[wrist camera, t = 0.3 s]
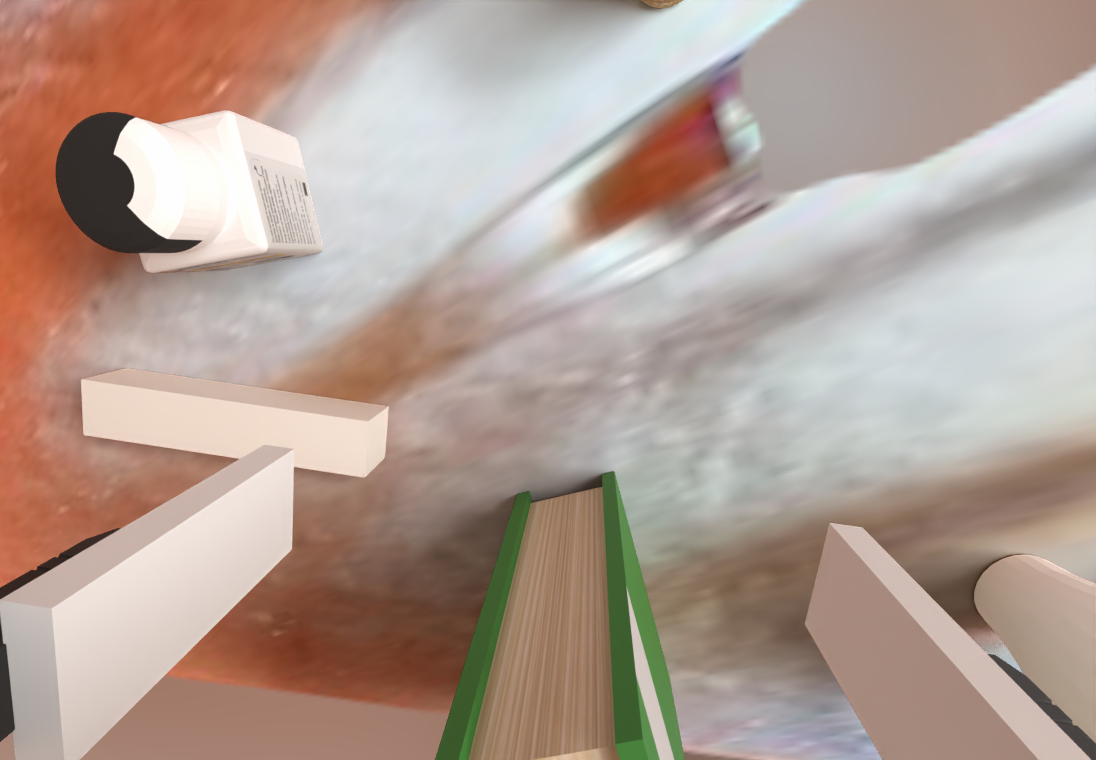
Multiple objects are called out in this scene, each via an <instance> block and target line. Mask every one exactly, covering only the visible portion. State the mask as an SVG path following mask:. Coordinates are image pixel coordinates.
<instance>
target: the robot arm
mask: <svg viewBox="0 0 1096 760" xmlns="http://www.w3.org/2000/svg"><path fill="white" fill-rule="evenodd" d="M293 480H294V449H292V448H285V447H278V446H270V445H263V446H261V447H259V448H258V449H256V450H254V451H253V452H251V453H249V454H247V455H246V456H244V457H242V458H241V459H239V460H237V461H236V462H234V463H232V464H230V465H229V466H227V467H225V468H224V469H222V470H220V471H218V472H217V473H215V474H213V475H212V476H210V477H208V478H207V479H205V480H203V481H201V482H200V483H198V484H196V485H195V486H193V487H191V488H190V489H188V490H186V491H184V492H183V493H181V494H179V495H178V496H176V497H174V498H172V499H171V500H169V501H167V502H166V503H164V504H162V505H161V506H159V507H157V508H155V509H154V510H152V511H150V512H149V513H147V514H145V515H143V516H142V517H140V518H138V519H137V520H135V521H133V522H132V523H130V524H128V525H126V526H125V527H123V528H121V529H120V528H117V529H114V530H111V531H109V532H106V533H103V534H100V535H97V536H94V537H91V538H88V539H85V540H84V541H82V542H80V543H78V544H77V545H75V546H73V547H71V548H70V549H68V550H66V551H64V552H63V553H61V554H59V557H58V558H56V557H54V558H52V559H50V560H48V561H47V562H45V563H43V564H41V565H40V566H38V567H37V570H31V571H29V572H27V573H25V574H24V575H22V576H20V577H18V578H17V579H15V580H13V581H11V582H10V583H8V584H6V585H4V586H3V587H1V588H0V742H1V741H2V740H3V739H4V738H5V737H7V736H8V735H9V734H10V733H11V732H13V740H14V748H15V759H16V760H80V759H81V758H82V756H84V754H86V753H87V752H88V751H89V750H90V749H91V748H92V747H93V746H94V745H95V744H96V743H97V742H98V741H99V740H100V739H101V738H102V737H103V736H104V735H105V734H106V733H107V732H108V731H109V730H110V729H111V728H112V727H113V726H114V725H115V724H116V723H117V722H118V721H119V720H120V719H121V718H122V717H123V716H124V715H125V714H126V713H127V712H128V711H129V710H130V709H131V708H132V707H133V706H134V705H135V704H136V703H137V702H138V701H139V700H140V699H141V698H142V697H143V696H144V695H145V694H146V693H147V692H148V691H149V690H150V689H151V688H152V687H153V686H154V685H155V684H156V683H157V682H158V681H159V680H160V679H161V678H162V677H163V676H165V675H166V674H167V673H168V672H169V671H170V670H171V669H172V668H173V667H174V666H175V665H176V664H177V663H178V662H179V661H180V660H181V659H182V658H183V657H184V656H185V655H186V654H187V653H188V652H189V651H190V650H191V649H192V648H193V647H194V646H195V645H196V644H197V643H198V642H199V641H200V640H201V639H202V638H203V637H204V636H205V635H206V634H207V633H208V632H209V631H210V630H211V629H212V628H213V627H214V626H215V625H216V624H217V623H218V622H219V621H220V620H221V619H222V618H223V617H224V616H225V615H226V614H227V613H228V612H229V611H230V610H231V609H232V608H233V607H234V606H235V605H236V604H237V603H238V602H239V601H240V600H241V599H242V598H243V597H244V596H245V595H246V594H247V593H248V592H249V591H250V590H251V589H252V588H253V587H254V586H255V585H256V584H257V583H258V582H259V581H260V580H261V579H262V578H263V577H264V576H265V575H267V574H268V573H269V572H270V571H271V570H272V569H273V568H274V567H275V566H276V565H277V564H278V563H279V562H280V561H281V560H282V559H283V558H284V557H285V556H286V555H287V554H288V553H289V552H290V551H291V550H292V530H293ZM805 626H806V627H807V629H808V631H809V633H810V634H811V636H812V638H813V639H814V641H815V643H816V645H817V646H818V648H819V650H820V652H821V653H822V655H823V657H824V659H825V660H826V662H827V664H828V666H829V667H830V669H831V671H832V673H833V674H834V676H835V678H836V680H837V681H838V683H839V685H840V686H841V688H842V690H843V692H844V693H845V695H846V697H847V699H848V700H849V702H850V704H851V706H852V707H853V709H854V711H855V713H856V714H857V716H858V718H859V720H860V721H861V723H862V725H863V727H864V728H865V730H866V732H867V733H868V735H869V737H870V739H871V740H872V742H873V744H874V746H875V747H876V749H877V751H878V753H879V754H880V756H881V758H882V760H1096V743H1095V742H1094V741H1093V740H1092V739H1091V738H1090V737H1089V736H1088V735H1087V734H1086V733H1085V732H1084V731H1083V730H1082V729H1081V728H1079V727H1078V726H1076V725H1073V723H1072V720H1071V719H1070V718H1069V717H1068V716H1067V715H1066V714H1065V713H1064V712H1063V711H1062V710H1061V709H1060V708H1059V707H1058V706H1057V705H1052V700H1051V699H1050V698H1049V697H1048V696H1047V695H1046V694H1045V693H1043V692H1042V691H1041V690H1040V689H1039V688H1038V687H1037V686H1036V685H1035V684H1034V683H1033V682H1032V681H1031V680H1030V679H1029V678H1028V677H1027V676H1025V675H1024V674H1022V673H1021V672H1019V671H1018V670H1017V669H1015V668H1014V667H1012V666H1011V665H1009V664H1008V663H1006V662H1005V661H1003V660H1002V659H1000V658H999V657H997V656H996V655H991V654H987V653H986V652H985V651H984V650H983V649H982V648H981V647H980V646H979V645H978V644H977V643H976V642H975V641H974V640H973V639H972V638H971V637H970V636H969V635H968V634H967V633H966V632H965V631H964V630H963V629H962V628H961V627H960V626H959V625H958V624H957V623H956V622H955V621H954V620H953V619H952V618H951V617H950V616H949V615H948V614H947V613H946V612H945V611H944V610H943V609H942V608H941V607H940V606H939V605H938V604H937V603H936V602H935V601H934V600H933V599H932V598H931V597H930V596H929V595H928V594H927V593H926V592H925V591H924V590H923V588H922V587H921V586H920V585H919V584H918V583H917V582H916V581H915V580H914V579H913V578H912V577H911V576H910V575H909V574H908V573H907V572H906V571H905V570H904V569H903V568H902V567H901V566H900V565H899V564H898V563H897V562H896V561H895V560H894V559H893V558H892V557H891V556H890V555H889V554H888V553H887V552H886V551H885V550H884V549H883V548H882V547H881V546H880V545H879V544H878V543H877V542H876V541H875V540H874V539H873V538H872V537H871V536H870V535H869V534H868V533H867V532H866V531H865V530H864V529H863V528H862V527H856V526H849V525H842V524H834V523H829V527H828V531H827V535H826V539H825V543H824V547H823V551H822V555H821V560H820V564H819V568H818V572H817V576H816V580H815V584H814V588H813V592H812V596H811V601H810V605H809V609H808V613H807V617H806V621H805Z"/></svg>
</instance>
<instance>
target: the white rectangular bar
mask: <svg viewBox="0 0 1096 760" xmlns="http://www.w3.org/2000/svg"><path fill="white" fill-rule="evenodd" d="M81 392H82V413H83V433H84V435H87V436H93V437H100V438H107V439H113V440H120V441H126V442H133V443H140V444H146V445H153V446H159V447H166V448H173V449H179V450H186V451H192V452H199V453H205V454H212V455H219V456H225V457H232V458H238V459H241V458H242V457H244V456H246V455H247V454H249V453H251V452H253V451H254V450H256V449H258V448H259V447H261V446H263V445H270V446H278V447H285V448H292V449H294V467H298V468H304V469H311V470H317V471H324V472H331V473H337V474H344V475H350V476H357V477H364V478H365V477H366V476H367V475H368V474H369V473H370V472H371V471H372V470H373V469H374V468H375V467H376V466H377V465H378V464H379V463H380V462H381V461H382V460H383V459H384V458H385V451H386V437H387V423H388V409H389V406H383V405H376V404H369V403H363V402H356V401H349V400H342V399H335V398H328V397H321V396H315V395H308V394H301V393H294V392H287V391H280V390H274V389H267V388H260V387H253V386H246V385H239V384H233V383H226V382H219V381H212V380H205V379H198V378H191V377H185V376H178V375H171V374H164V373H157V372H150V371H144V370H137V369H130V368H125V369H121V370H117V371H113V372H109V373H104V374H100V375H96V376H92V377H88V378H84V379H81Z"/></svg>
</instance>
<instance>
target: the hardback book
mask: <svg viewBox="0 0 1096 760" xmlns="http://www.w3.org/2000/svg"><path fill="white" fill-rule="evenodd" d="M435 760H685V759H684V753H683V748H682V742H681V737H680V732H679V726H678V721H677V715H676V710H675V705H674V699H673V694H672V688H671V683H670V678H669V674H668V670H667V666H666V663H665V659H664V655H663V652H662V648H661V644H660V640H659V637H658V633H657V629H656V625H655V622H654V618H653V614H652V611H651V607H650V603H649V599H648V596H647V592H646V588H645V584H644V581H643V577H642V573H641V570H640V566H639V562H638V558H637V555H636V551H635V547H634V543H633V540H632V536H631V532H630V528H629V525H628V521H627V517H626V514H625V510H624V506H623V502H622V499H621V495H620V491H619V487H618V484H617V480H616V476H615V473H614V471H613V472H609V473H605V474H602V487H599V488H594V489H590V490H586V491H581V492H577V493H573V494H568V495H564V496H559V497H555V498H551V499H546V500H542V501H538V502H532V499H531V496H530V492H529V491H528V492H523V493H519V494H517V496H516V500H515V503H514V506H513V509H512V512H511V516H510V519H509V522H508V525H507V529H506V532H505V535H504V538H503V542H502V545H501V548H500V551H499V554H498V558H497V561H496V564H495V567H494V571H493V574H492V577H491V580H490V584H489V587H488V590H487V593H486V597H485V600H484V603H483V606H482V609H481V613H480V616H479V619H478V622H477V626H476V629H475V632H474V635H473V639H472V642H471V645H470V648H469V651H468V655H467V658H466V661H465V664H464V668H463V671H462V674H461V677H460V681H459V684H458V687H457V690H456V694H455V697H454V700H453V703H452V706H451V710H450V713H449V716H448V719H447V723H446V726H445V730H444V732H443V736H442V739H441V742H440V745H439V749H438V752H437V755H436V758H435Z"/></svg>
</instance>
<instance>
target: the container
mask: <svg viewBox="0 0 1096 760" xmlns="http://www.w3.org/2000/svg"><path fill="white" fill-rule="evenodd" d="M56 183H57V188H58V192H59V195H60V198H61V201H62V203H63V205H64V207H65V209H66V211H67V212H68V214H69V215H70V217H71V219H72V220H73V221H74V223H75V224H76V225H77V226H78V227H79V229H80V230H81V231H82V232H83V233H84V234H85V235H87V236H88V237H89V238H90V239H92V240H93V241H94V242H96V243H98V244H100V245H101V246H103V247H106V248H108V249H111V250H114V251H118V252H124V253H139V255H140V258H141V262H142V265H143V268H144V269H145V270H146V271H147V272H150V273H164V272H189V271H214V270H229V269H234V268H240V267H245V266H251V265H256V264H262V263H267V262H273V261H278V260H284V259H289V258H295V257H300V256H306V255H311V254H317V253H320V252H322V250H323V244H322V240H321V235H320V231H319V227H318V223H317V219H316V215H315V210H314V206H313V202H312V198H311V194H310V189H309V185H308V181H307V177H306V173H305V169H304V164H303V160H302V156H301V152H300V148H299V143H298V141H297V139H296V138H295V137H294V136H292V135H289V134H287V133H284V132H282V131H279V130H277V129H274V128H272V127H269V126H267V125H264V124H262V123H259V122H257V121H254V120H252V119H249V118H247V117H244V116H242V115H239V114H237V113H234V112H232V111H227V110H226V111H220V112H215V113H211V114H206V115H201V116H197V117H192V118H187V119H182V120H178V121H173V122H168V123H164V124H158V123H154V122H151V121H148V120H144V119H141V118H138V117H134V116H131V115H128V114H123V113H118V112H106V113H99V114H96V115H93V116H90V117H88V118H86V119H84V120H83V121H81V122H80V123H78V124H77V125H76V126H75V127H74V128H73V129H72V130H71V131H70V132H69V134H68V135H67V137H66V138H65V140H64V141H63V143H62V145H61V147H60V150H59V153H58V156H57V162H56Z"/></svg>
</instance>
